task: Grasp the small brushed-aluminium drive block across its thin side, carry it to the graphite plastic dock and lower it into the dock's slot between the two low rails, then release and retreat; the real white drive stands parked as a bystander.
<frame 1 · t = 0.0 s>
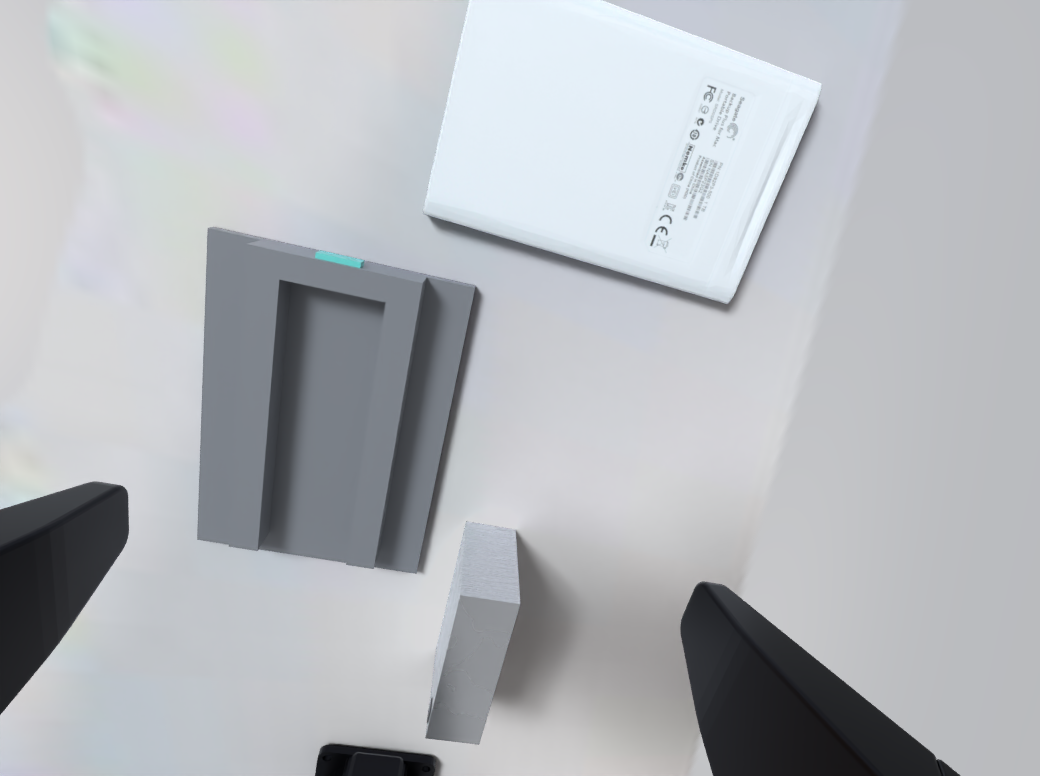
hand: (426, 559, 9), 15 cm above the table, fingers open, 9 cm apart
external hard drive: (609, 152, 21), on the table
drive: (474, 590, 27), on the table
dock: (328, 418, 23), on the table
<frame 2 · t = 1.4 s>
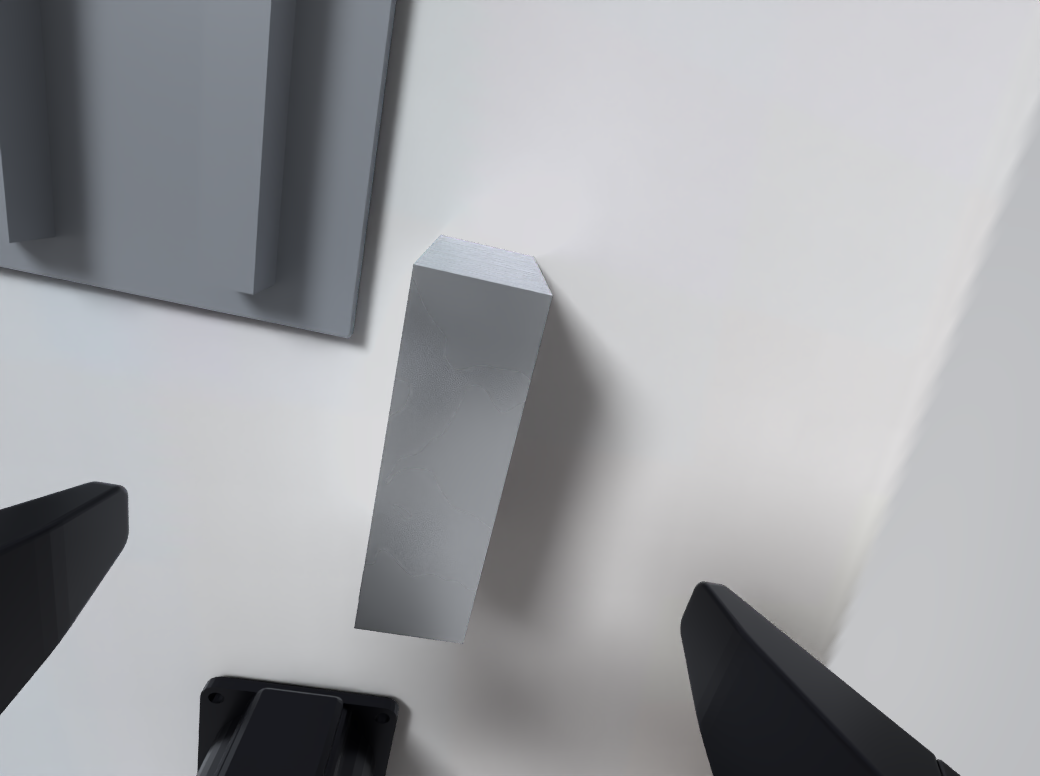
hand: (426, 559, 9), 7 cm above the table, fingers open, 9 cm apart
drive: (458, 388, 15), on the table
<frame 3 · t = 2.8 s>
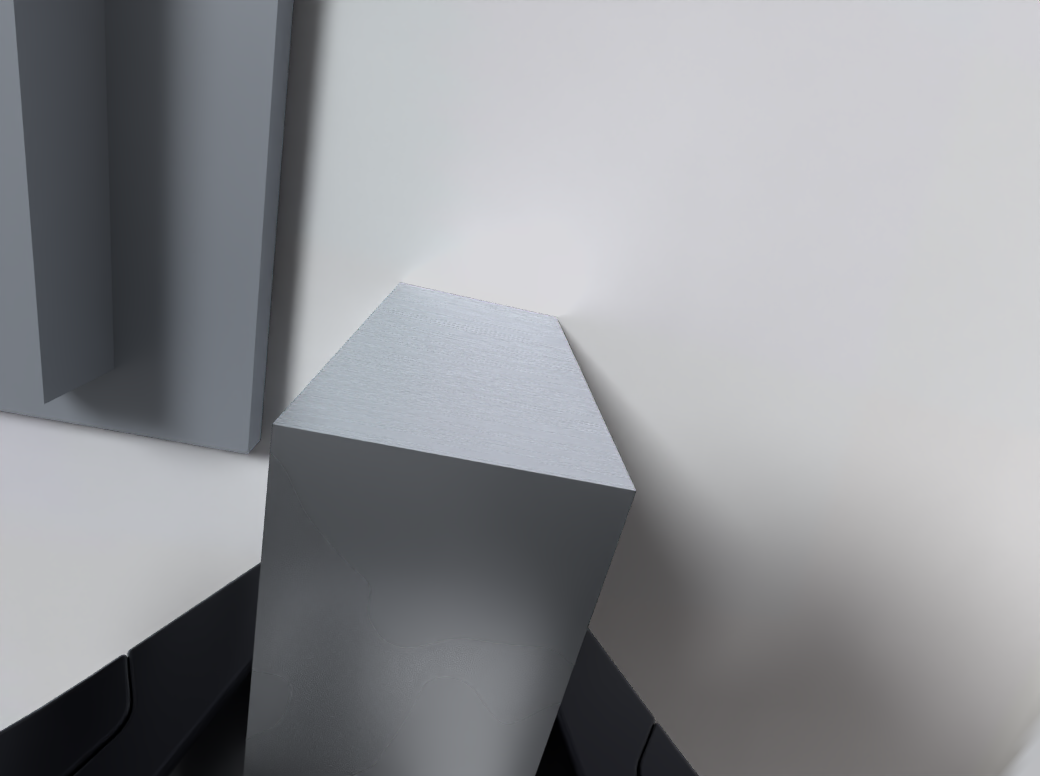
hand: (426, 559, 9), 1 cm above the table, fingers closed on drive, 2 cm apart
drive: (433, 519, 10), on the table, touching gripper
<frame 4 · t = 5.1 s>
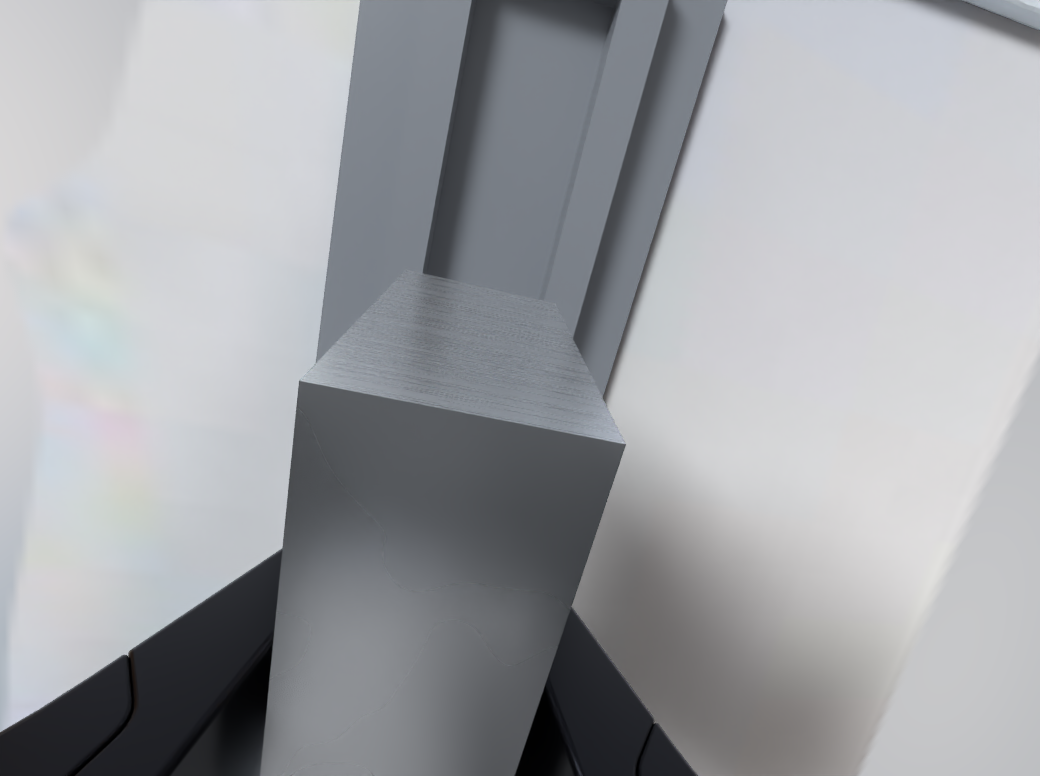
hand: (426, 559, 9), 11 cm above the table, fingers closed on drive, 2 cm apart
drive: (437, 499, 10), point 10 cm above the table, touching gripper
dock: (500, 207, 18), on the table
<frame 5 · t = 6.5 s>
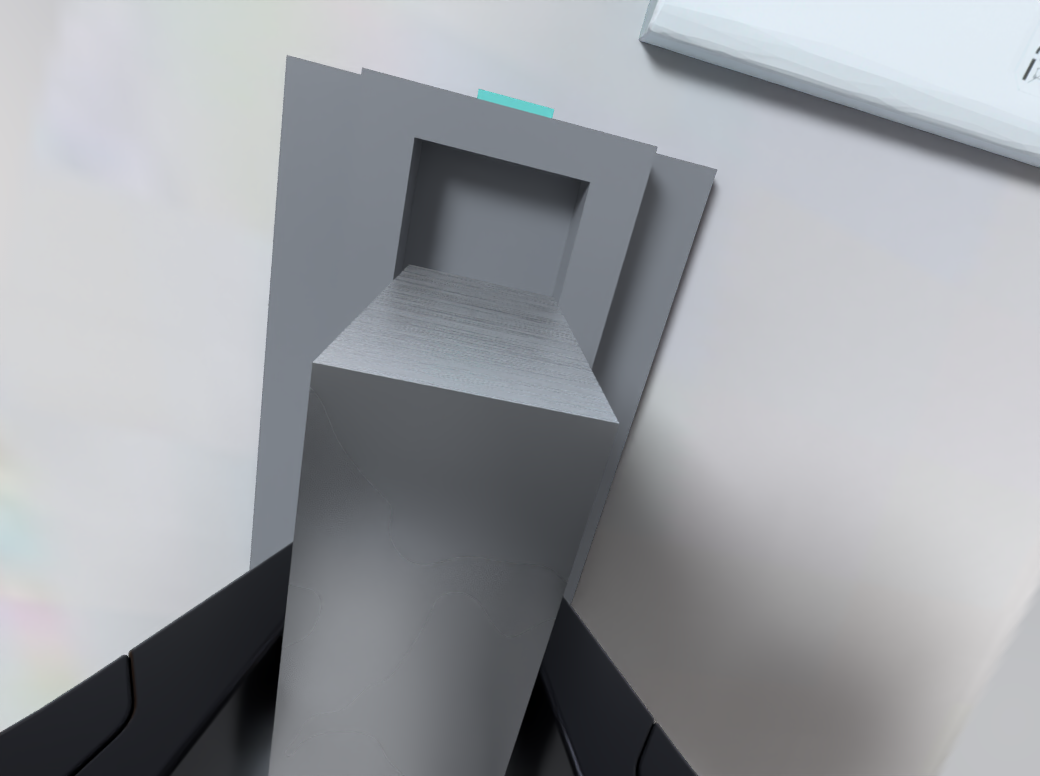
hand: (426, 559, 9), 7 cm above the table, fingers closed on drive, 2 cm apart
drive: (439, 489, 10), point 5 cm above the table, touching gripper
dock: (456, 388, 15), on the table
when the fingers open (3 cm above the table, at t = 7.7 s): drive stays where it is, resting on dock.
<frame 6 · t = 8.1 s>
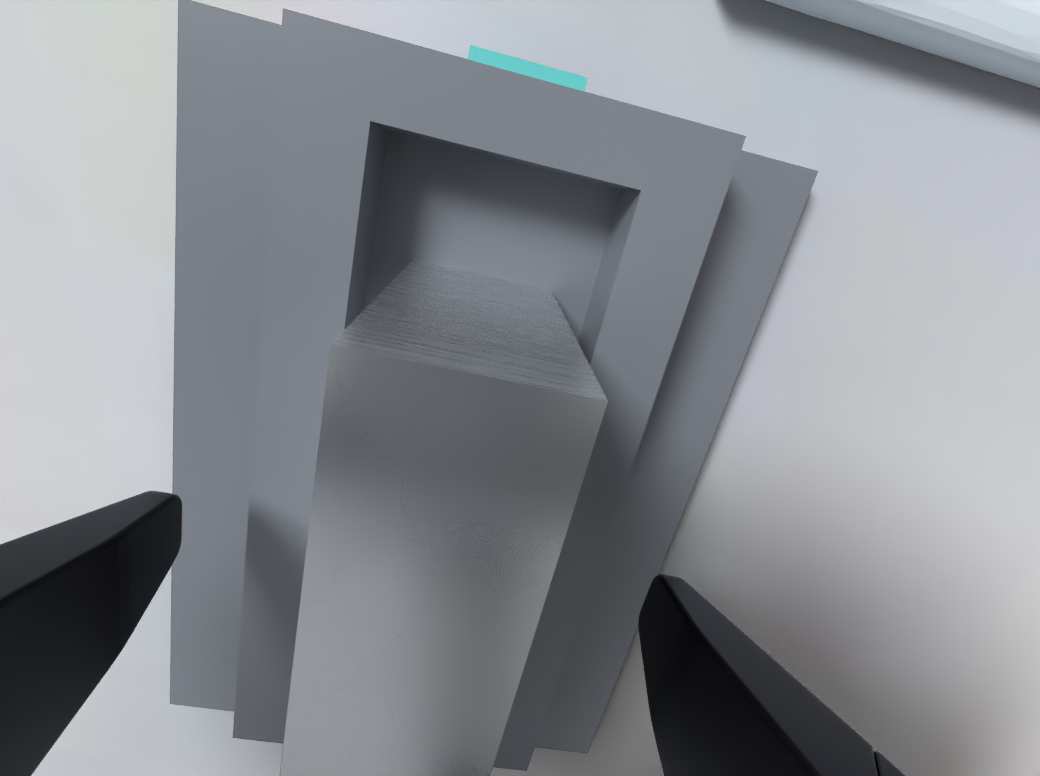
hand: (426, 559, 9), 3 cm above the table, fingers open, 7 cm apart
drive: (441, 475, 11), resting on dock
dock: (442, 468, 11), on the table
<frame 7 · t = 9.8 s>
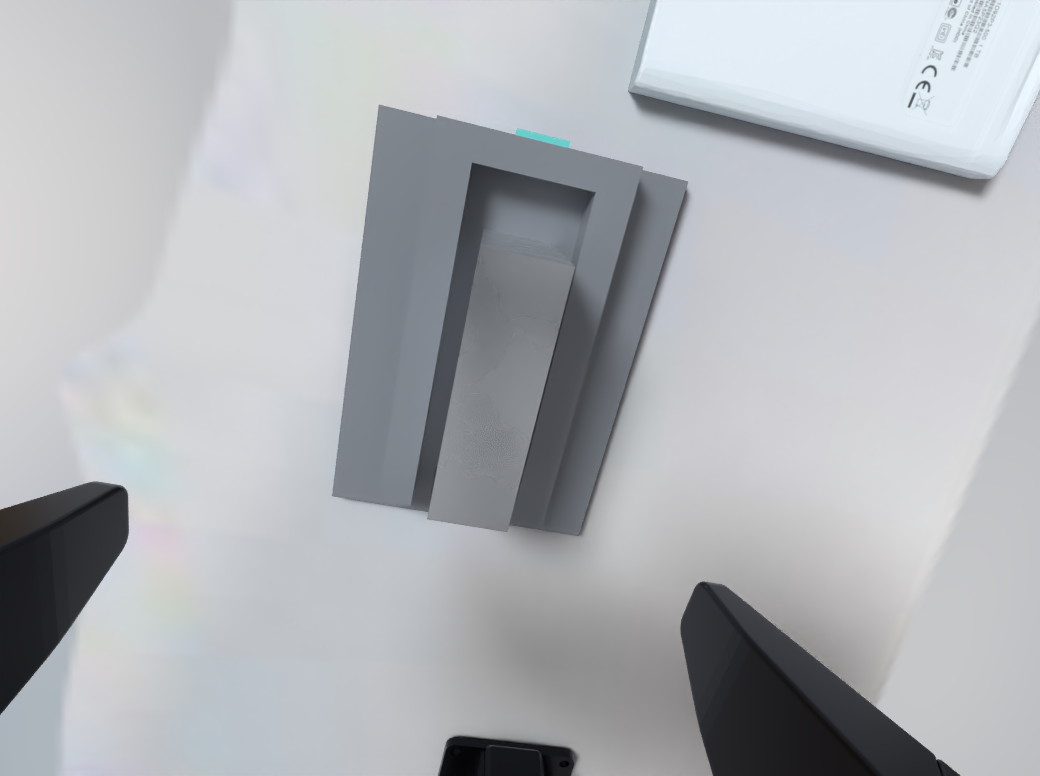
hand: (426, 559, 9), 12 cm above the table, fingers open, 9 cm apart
external hard drive: (844, 1, 17), on the table
drive: (494, 349, 19), resting on dock
dock: (494, 349, 20), on the table
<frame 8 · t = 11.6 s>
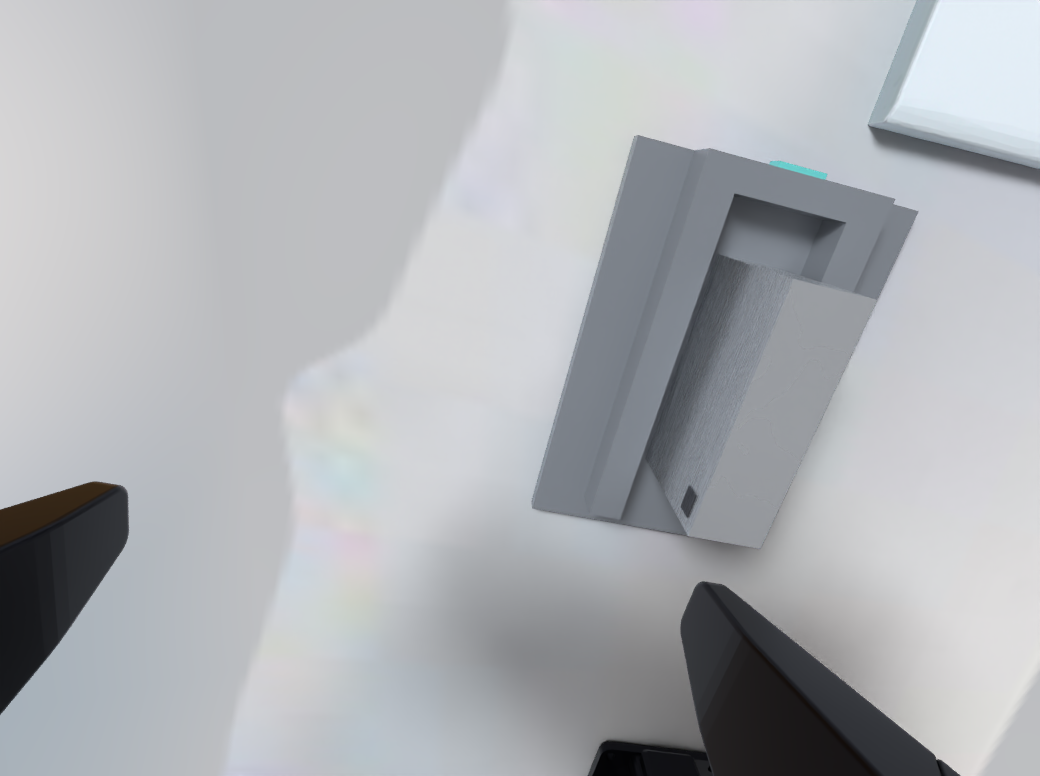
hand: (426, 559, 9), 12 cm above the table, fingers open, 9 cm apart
drive: (709, 369, 20), resting on dock
dock: (703, 368, 21), on the table
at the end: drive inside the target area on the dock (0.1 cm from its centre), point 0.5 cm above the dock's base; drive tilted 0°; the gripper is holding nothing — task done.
